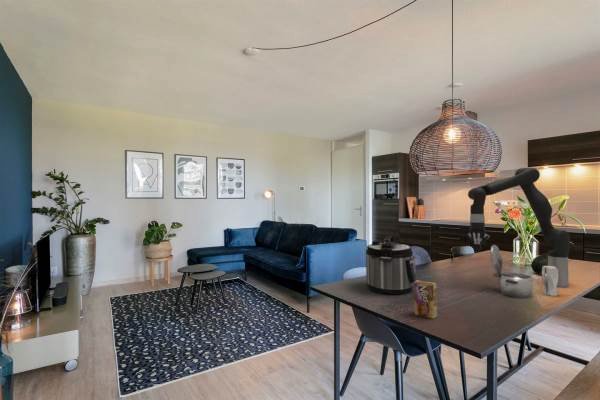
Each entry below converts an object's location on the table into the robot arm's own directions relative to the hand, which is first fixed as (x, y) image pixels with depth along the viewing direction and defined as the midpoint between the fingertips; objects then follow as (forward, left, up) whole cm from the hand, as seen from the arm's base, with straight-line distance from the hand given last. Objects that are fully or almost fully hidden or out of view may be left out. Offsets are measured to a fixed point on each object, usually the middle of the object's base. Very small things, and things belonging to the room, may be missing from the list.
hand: (477, 250), depth 183 cm
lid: (0, +10, -4) cm, 11 cm away
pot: (0, +17, -22) cm, 28 cm away
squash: (-63, +21, -22) cm, 70 cm away
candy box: (+65, -1, -22) cm, 69 cm away
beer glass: (-11, +32, -22) cm, 40 cm away
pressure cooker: (+39, -35, -22) cm, 57 cm away
